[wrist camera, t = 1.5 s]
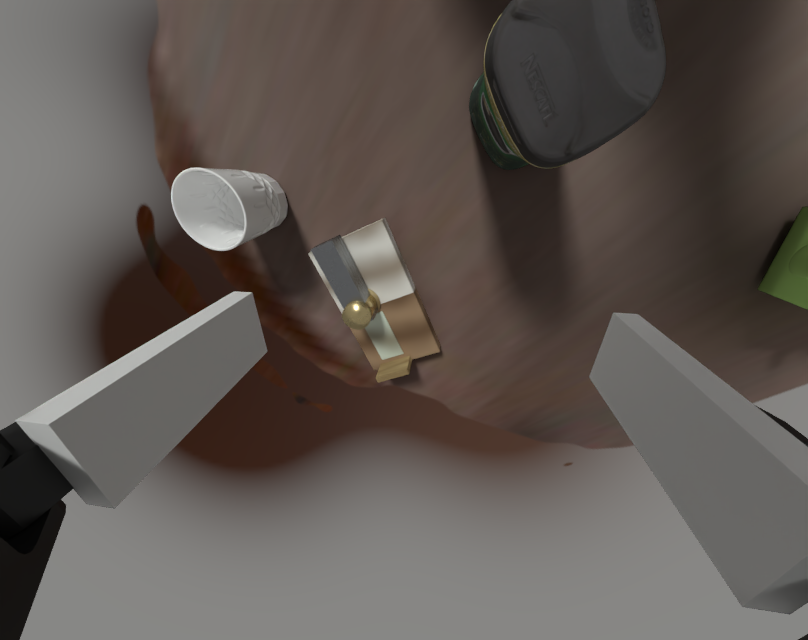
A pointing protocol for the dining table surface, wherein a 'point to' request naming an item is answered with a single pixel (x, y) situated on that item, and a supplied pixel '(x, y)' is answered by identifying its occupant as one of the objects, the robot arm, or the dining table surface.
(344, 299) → the latch bar
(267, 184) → the white cup
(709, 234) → the dining table surface
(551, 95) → the coffee jar
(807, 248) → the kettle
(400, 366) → the door board
